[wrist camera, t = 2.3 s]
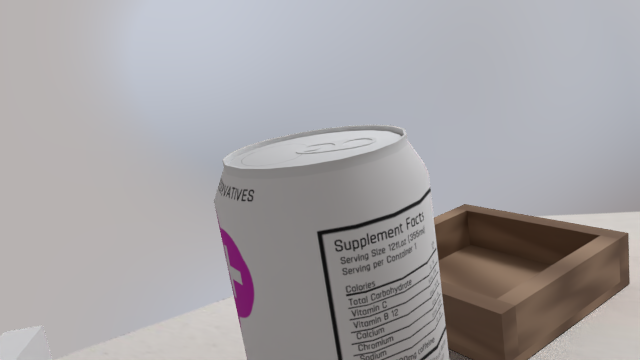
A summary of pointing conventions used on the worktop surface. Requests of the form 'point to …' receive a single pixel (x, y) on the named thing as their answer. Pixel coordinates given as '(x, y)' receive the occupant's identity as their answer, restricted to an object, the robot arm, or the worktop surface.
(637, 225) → the worktop surface
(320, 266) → the supplement can
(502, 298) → the square wooden tray
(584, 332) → the worktop surface
